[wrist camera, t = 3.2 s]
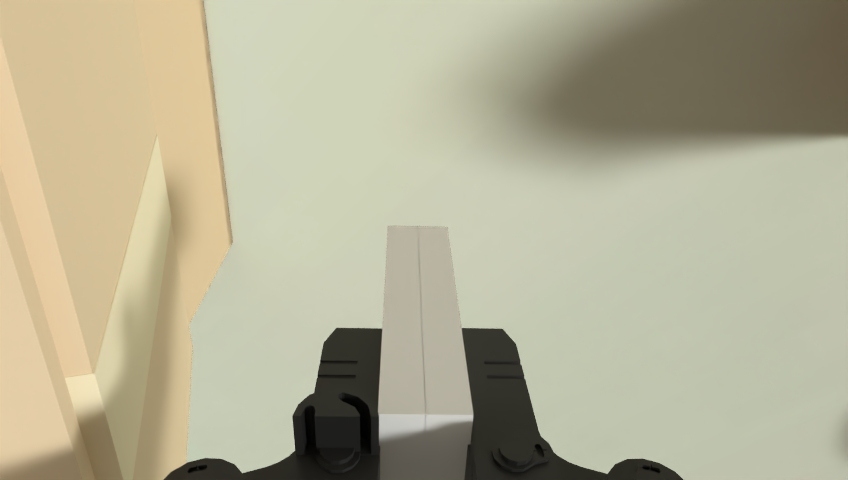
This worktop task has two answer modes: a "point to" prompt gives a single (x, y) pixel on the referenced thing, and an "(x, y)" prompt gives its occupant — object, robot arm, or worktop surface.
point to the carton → (187, 137)
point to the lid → (85, 253)
